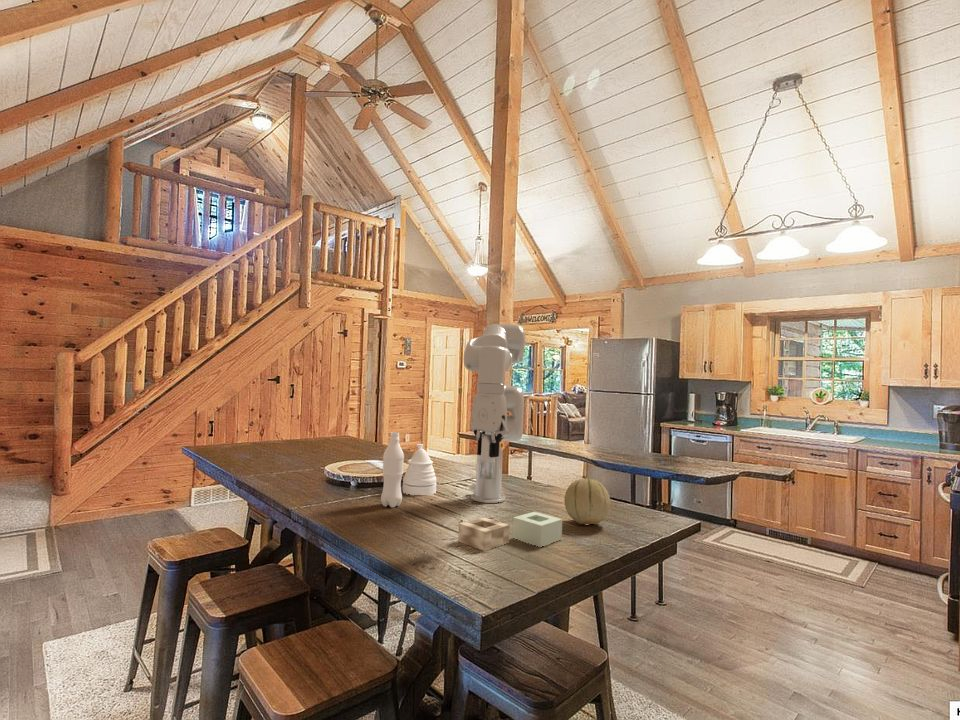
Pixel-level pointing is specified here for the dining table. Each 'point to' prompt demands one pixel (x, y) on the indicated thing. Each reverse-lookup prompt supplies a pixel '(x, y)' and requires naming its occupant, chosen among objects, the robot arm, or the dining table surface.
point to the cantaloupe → (587, 501)
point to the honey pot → (419, 474)
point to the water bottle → (392, 472)
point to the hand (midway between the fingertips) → (487, 454)
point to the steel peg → (486, 458)
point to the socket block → (483, 533)
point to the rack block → (537, 528)
